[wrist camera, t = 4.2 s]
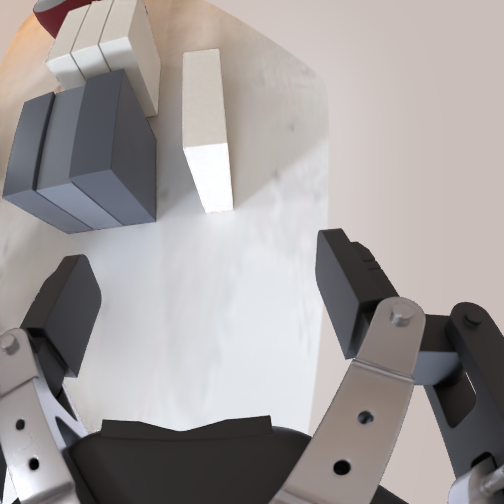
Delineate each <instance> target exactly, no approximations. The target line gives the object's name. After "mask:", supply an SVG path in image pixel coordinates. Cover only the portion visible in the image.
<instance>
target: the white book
mask: <svg viewBox="0 0 504 504" xmlns="http://www.w3.org/2000/svg"><path fill="white" fill-rule="evenodd" d="M182 127H183V150H184V153H185V156H186V159H187V162H188V165H189V168H190V170H191V173H192V176H193V179H194V182H195V185H196V188H197V190H198V193H199V196H200V199H201V202H202V204H203V207H204V210H205V213H213V212H222V211H232V210H234V208H233V197H232V186H231V175H230V163H229V151H228V140H227V129H226V118H225V107H224V95H223V84H222V71H221V60H220V49H219V48H217V49H207V50H199V51H191V52H184V53H183V94H182Z"/></svg>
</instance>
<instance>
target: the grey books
mask: <svg viewBox="0 0 504 504" xmlns="http://www.w3.org/2000/svg"><path fill="white" fill-rule="evenodd" d="M2 198H4V199H5V200H7V201H9V202H11V203H12V204H14V205H16V206H18V207H19V208H21V209H23V210H25V211H27V212H28V213H30V214H32V215H34V216H36V217H37V218H39V219H41V220H43V221H45V222H47V223H48V224H50V225H52V226H54V227H56V228H58V229H60V230H61V231H63V232H65V233H67V234H71V233H78V232H84V231H91V230H94V229H95V230H98V229H105V228H112V227H119V226H124V225H125V226H127V225H134V224H142V223H150V222H156V139H155V137H154V134H153V132H152V130H151V128H150V126H149V124H148V121H147V119H146V117H145V115H144V113H143V110H142V108H141V106H140V104H139V102H138V99H137V97H136V95H135V93H134V90H133V88H132V86H131V84H130V81H129V79H128V77H127V75H126V72H125V70H124V69H119V70H115V71H111V72H107V73H103V74H99V75H96V76H92V77H89V78H87V80H86V84H85V85H82V86H79V87H76V88H73V89H69V90H66V91H63V92H60V93H57V94H56V95H55V94H54V92H51V93H48V94H45V95H42V96H40V97H37V98H34V99H32V100H29V101H27V102H25V103H24V106H23V109H22V112H21V116H20V119H19V123H18V126H17V130H16V134H15V137H14V141H13V145H12V150H11V154H10V158H9V163H8V168H7V173H6V178H5V184H4V190H3V196H2Z"/></svg>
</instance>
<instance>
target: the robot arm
mask: <svg viewBox="0 0 504 504" xmlns="http://www.w3.org/2000/svg"><path fill="white" fill-rule="evenodd" d="M315 273H316V281H317V285H318V288H319V291H320V293H321V296H322V298H323V301H324V304H325V306H326V308H327V311H328V314H329V316H330V319H331V322H332V324H333V327H334V330H335V332H336V335H337V338H338V340H339V343H340V346H341V349H342V351H343V354H344V356H345V359H351V358H355V359H353V360H352V362H351V364H350V366H349V368H348V370H347V372H346V374H345V376H344V379H343V380H342V382H341V384H340V386H339V389H338V390H337V392H336V395H335V396H334V398H333V400H332V402H331V404H330V406H329V408H328V410H327V412H326V414H325V415H324V417H323V419H322V421H321V423H320V424H319V426H318V428H317V430H316V432H315V434H314V435H313V437H311V436H309V435H306V434H304V433H302V432H299V431H296V430H293V429H289V428H284V427H277V426H272V424H271V417H270V415H268V416H259V417H250V418H239V419H227V420H223V421H220V422H216V423H213V424H209V425H206V426H202V427H198V428H194V429H191V430H187V431H175V430H171V429H166V428H162V427H158V426H155V425H151V424H147V423H143V422H140V421H118V420H103V421H102V427H101V431H98V432H95V433H91V434H89V432H88V431H87V429H86V428H85V426H84V424H83V422H82V420H81V418H80V416H79V414H78V412H77V410H76V408H75V406H74V404H73V401H72V399H71V397H70V395H69V393H68V390H67V388H66V386H65V385H64V384H63V380H64V377H76V378H77V377H78V373H79V370H80V367H81V363H82V360H83V357H84V353H85V350H86V347H87V344H88V341H89V338H90V335H91V332H92V329H93V326H94V323H95V320H96V317H97V314H98V312H99V309H100V306H101V291H100V288H99V285H98V283H97V281H96V278H95V276H94V273H93V271H92V268H91V266H90V263H89V260H88V258H87V257H86V256H85V255H84V254H82V255H73V256H66V257H64V258H63V260H62V261H61V263H60V265H59V266H58V268H57V270H56V271H55V272H54V273H53V274H52V275H51V276H50V277H49V278H47V279H46V280H45V282H44V284H43V285H42V287H41V289H40V293H38V294H37V296H36V298H35V301H33V303H32V305H31V307H30V309H29V310H28V312H27V314H26V316H25V318H24V320H23V322H22V324H21V326H20V328H14V329H11V330H9V331H7V332H5V333H4V334H3V335H2V336H1V337H0V504H2V500H3V491H4V483H5V476H6V470H7V467H8V470H9V473H10V476H11V479H12V481H13V484H14V487H15V490H16V492H17V495H18V498H17V499H16V500H15V501H14V502H13V503H12V504H408V503H407V502H405V501H403V500H402V499H400V498H399V497H397V496H396V495H394V494H393V493H391V492H389V491H388V490H387V489H385V488H384V487H382V486H381V485H379V483H380V481H381V478H382V476H383V474H384V471H385V469H386V467H387V464H388V462H389V459H390V457H391V454H392V452H393V449H394V446H395V444H396V441H397V438H398V436H399V433H400V430H401V427H402V424H403V421H404V418H405V415H406V412H407V409H408V406H409V402H410V399H411V396H412V392H413V389H414V385H423V386H424V388H425V391H426V394H427V396H428V399H429V401H430V404H431V406H432V409H433V412H434V414H435V417H436V420H437V423H438V425H439V428H440V431H441V434H442V437H443V440H444V443H445V446H446V449H447V452H448V455H449V458H450V461H451V464H452V467H453V470H454V474H455V477H456V480H455V481H454V483H453V484H452V486H451V488H450V491H449V495H448V502H447V504H504V337H503V335H502V333H501V332H500V330H499V329H498V327H497V326H496V324H495V322H494V321H493V320H492V318H491V317H490V315H489V314H488V313H487V311H486V310H485V309H483V308H482V307H480V306H479V305H476V304H474V303H469V302H461V303H458V304H456V305H455V306H454V308H453V309H452V311H451V314H450V316H443V315H429V314H425V313H424V311H423V310H422V308H421V307H420V306H419V305H418V304H416V303H415V302H414V301H411V300H409V299H407V298H403V297H400V296H399V295H398V293H397V292H396V290H395V289H394V287H393V285H392V284H391V282H390V281H389V280H388V278H387V276H386V275H385V273H384V272H383V270H382V269H381V267H380V265H379V264H378V262H377V261H375V258H374V256H373V255H372V254H371V252H370V251H369V249H367V248H366V247H364V246H363V245H362V244H360V243H359V242H350V240H349V239H348V238H347V236H346V234H345V233H344V231H343V230H342V229H341V228H339V229H328V230H319V232H318V237H317V253H316V267H315ZM466 373H467V375H468V377H469V379H470V381H471V383H472V385H473V387H474V389H475V392H476V394H475V392H474V390H473V388H472V386H471V383H470V381H469V379H468V377H467V375H466Z"/></svg>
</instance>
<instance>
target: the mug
mask: <svg viewBox="0 0 504 504" xmlns="http://www.w3.org/2000/svg"><path fill="white" fill-rule="evenodd" d="M92 1H101V0H39V1H38V2H37V3H36V4H35V6H34V8H33V12H34V14H35V16H36V17H37V19H38V21H39V22H40V24H41V25H42V26H43V27H44V28H45V29H46V30H47V31H48V32H49V33H50V34H51V35H52V37H53V38H54V39H56V37H57V35H58V33H59V30H60V28H61V26H62V24H63V22H64V20H65V18H66V16H67V14H68V12H69V11H72V10H74V9H77V8H80V7H83V6H86V5H89V4H90V5H91V4H92Z"/></svg>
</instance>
